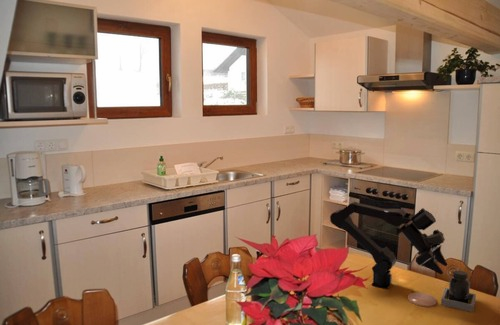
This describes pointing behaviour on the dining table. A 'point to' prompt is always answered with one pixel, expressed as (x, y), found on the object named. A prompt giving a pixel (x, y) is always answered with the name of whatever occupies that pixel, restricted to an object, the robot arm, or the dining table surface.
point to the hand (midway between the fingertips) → (444, 269)
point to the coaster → (422, 299)
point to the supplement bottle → (459, 287)
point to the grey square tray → (458, 304)
